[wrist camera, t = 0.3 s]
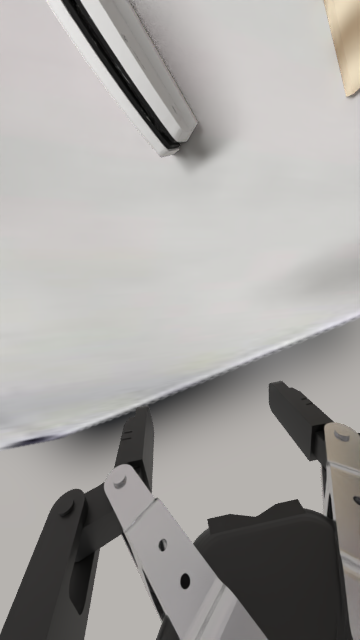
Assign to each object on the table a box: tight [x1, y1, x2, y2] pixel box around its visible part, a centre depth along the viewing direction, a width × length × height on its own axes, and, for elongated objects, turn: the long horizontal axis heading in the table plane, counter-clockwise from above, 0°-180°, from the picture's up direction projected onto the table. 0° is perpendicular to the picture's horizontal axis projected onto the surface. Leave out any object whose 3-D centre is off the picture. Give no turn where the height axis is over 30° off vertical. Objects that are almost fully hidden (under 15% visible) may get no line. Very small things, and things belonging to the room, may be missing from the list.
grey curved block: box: [46, 0, 198, 157], centre depth 21 cm, size 17×5×10 cm, turn 42°
